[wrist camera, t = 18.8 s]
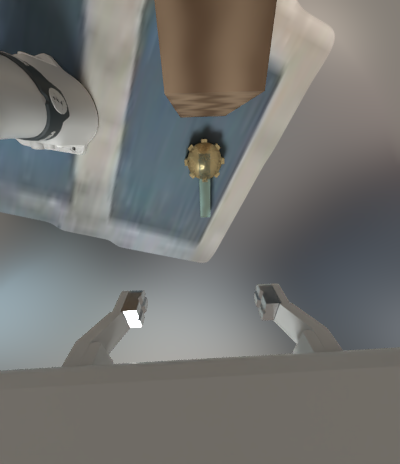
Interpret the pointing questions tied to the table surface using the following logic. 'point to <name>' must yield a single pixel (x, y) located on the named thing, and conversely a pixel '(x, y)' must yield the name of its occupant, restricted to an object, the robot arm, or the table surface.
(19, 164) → the table surface
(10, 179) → the table surface
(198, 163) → the gear axle
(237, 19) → the walnut stand
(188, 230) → the table surface
